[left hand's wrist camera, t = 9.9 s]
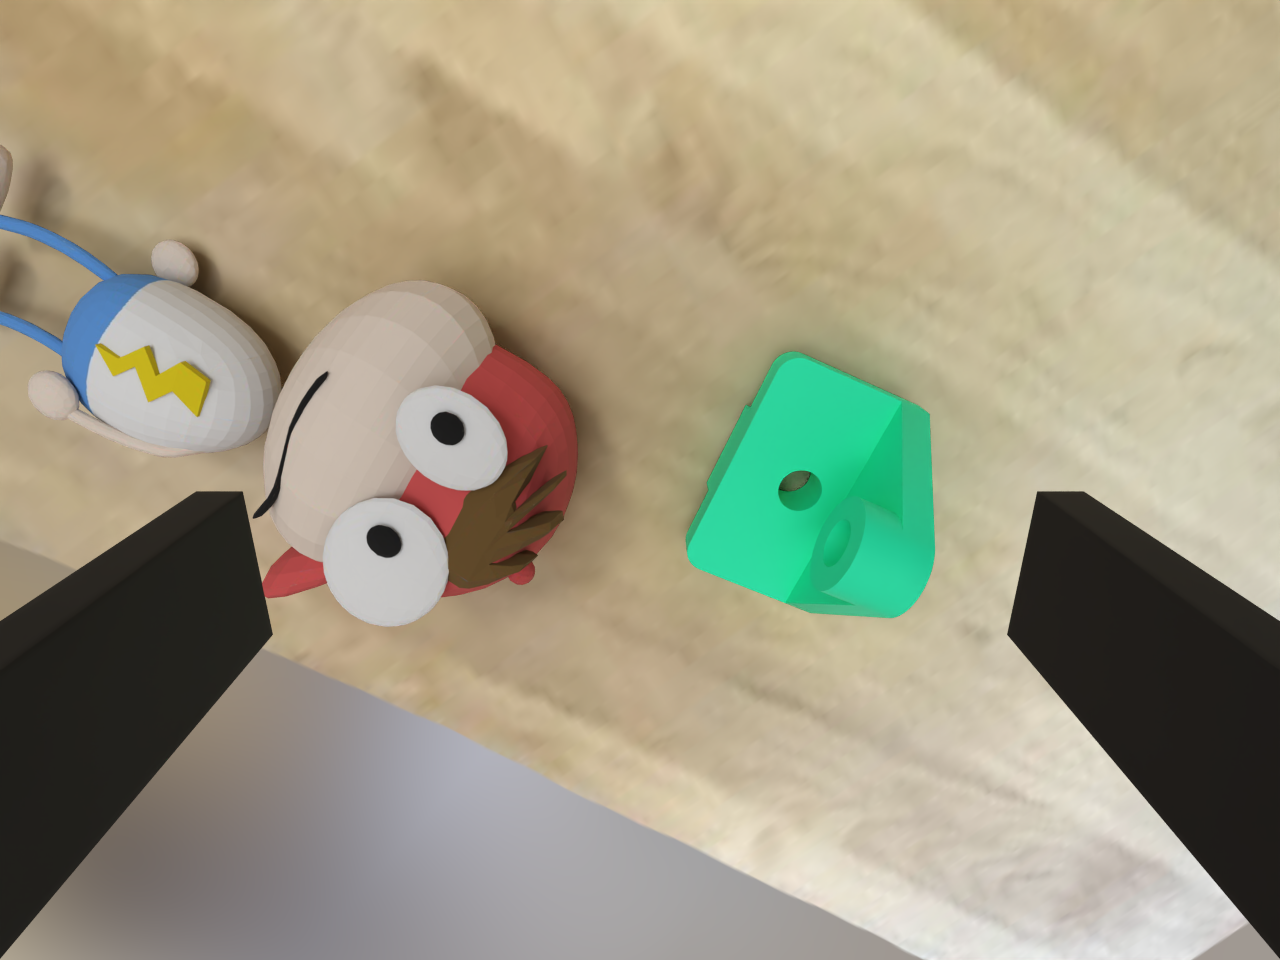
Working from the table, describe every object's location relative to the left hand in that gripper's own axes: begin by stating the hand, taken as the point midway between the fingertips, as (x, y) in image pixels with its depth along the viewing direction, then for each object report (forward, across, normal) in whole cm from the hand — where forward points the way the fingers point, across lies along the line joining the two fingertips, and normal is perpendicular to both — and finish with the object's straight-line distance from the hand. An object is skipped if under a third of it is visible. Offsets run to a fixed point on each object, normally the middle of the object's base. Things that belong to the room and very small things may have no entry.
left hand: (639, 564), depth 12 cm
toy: (+26, -17, -2) cm, 31 cm away
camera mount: (+26, +8, -8) cm, 28 cm away
